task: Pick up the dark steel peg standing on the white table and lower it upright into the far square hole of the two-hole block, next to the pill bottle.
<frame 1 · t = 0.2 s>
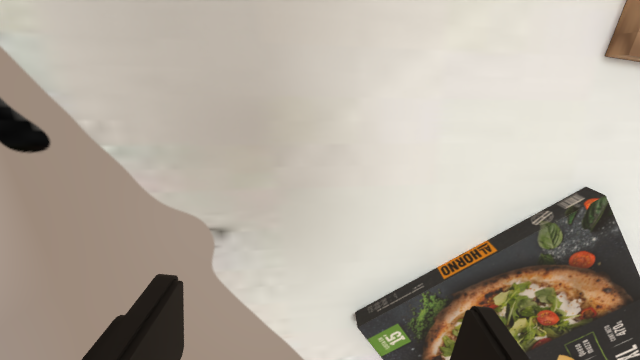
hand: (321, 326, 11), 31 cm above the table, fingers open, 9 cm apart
pizza box: (511, 333, 51), on the table
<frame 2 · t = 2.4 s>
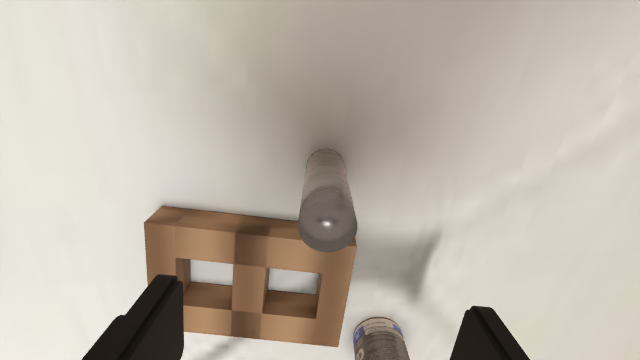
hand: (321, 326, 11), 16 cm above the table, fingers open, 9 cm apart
peg: (325, 167, 26), on the table
hole block: (255, 267, 29), on the table
pill bottle: (376, 334, 32), on the table
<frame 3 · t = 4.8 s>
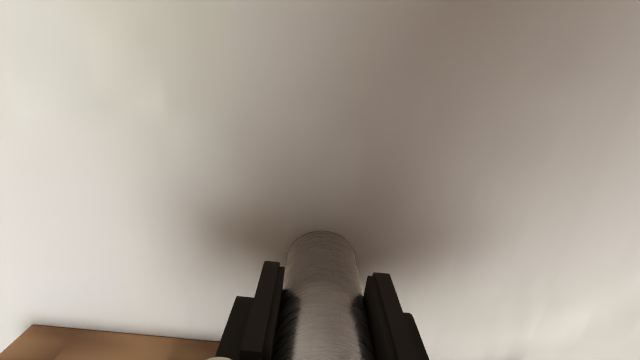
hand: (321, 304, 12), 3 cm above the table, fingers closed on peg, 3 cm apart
peg: (321, 261, 14), on the table, touching gripper
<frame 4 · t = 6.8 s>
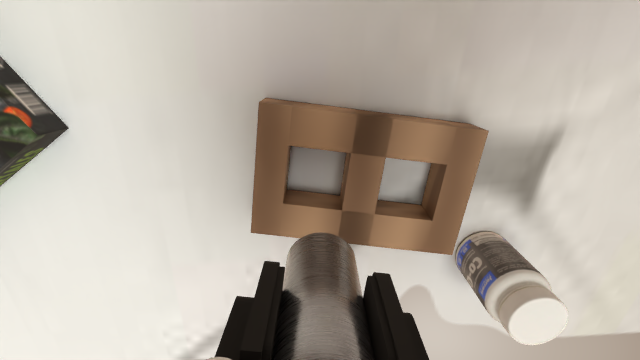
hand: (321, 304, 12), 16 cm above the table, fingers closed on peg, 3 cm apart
peg: (321, 263, 14), point 13 cm above the table, touching gripper
hole block: (358, 172, 27), on the table
pill bottle: (479, 252, 30), on the table
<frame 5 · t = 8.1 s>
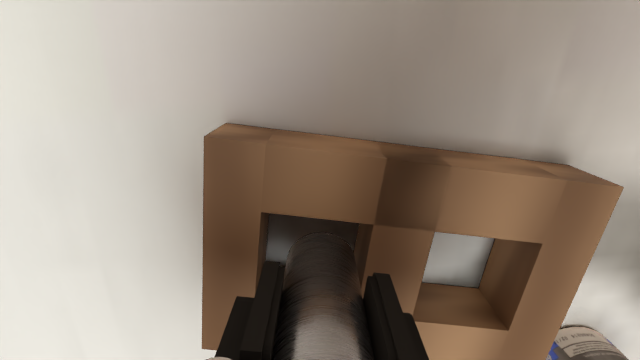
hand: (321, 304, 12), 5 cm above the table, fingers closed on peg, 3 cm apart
peg: (320, 263, 14), point 2 cm above the table, touching gripper
hole block: (380, 240, 17), on the table
pill bottle: (562, 353, 20), on the table
when the fingers open (4 cm above the table, at t = 9.0 s): peg stays where it is, resting in hole block.
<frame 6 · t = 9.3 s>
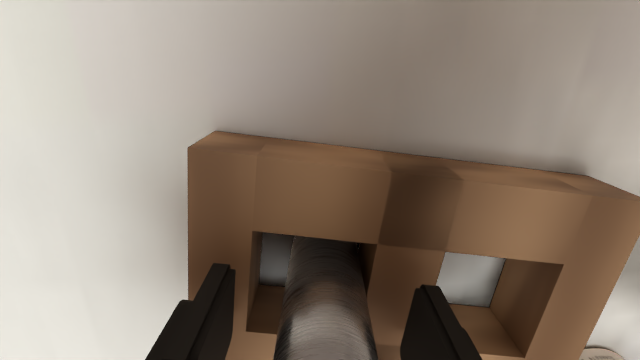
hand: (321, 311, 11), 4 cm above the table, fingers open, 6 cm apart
peg: (324, 249, 15), resting in hole block
hole block: (384, 256, 15), on the table
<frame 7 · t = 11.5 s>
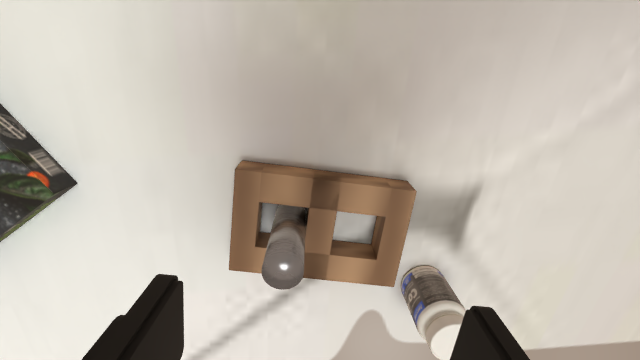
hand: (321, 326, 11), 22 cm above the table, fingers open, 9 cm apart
peg: (290, 214, 33), resting in hole block
hole block: (319, 218, 33), on the table
pill bottle: (421, 282, 36), on the table
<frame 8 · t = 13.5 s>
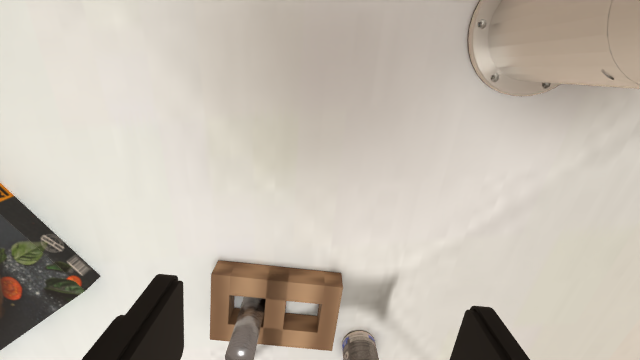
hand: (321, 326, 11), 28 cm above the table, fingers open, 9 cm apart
peg: (256, 295, 44), resting in hole block
hole block: (277, 298, 45), on the table
pill bottle: (358, 342, 47), on the table
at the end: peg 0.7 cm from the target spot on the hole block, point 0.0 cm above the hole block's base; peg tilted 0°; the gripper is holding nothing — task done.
